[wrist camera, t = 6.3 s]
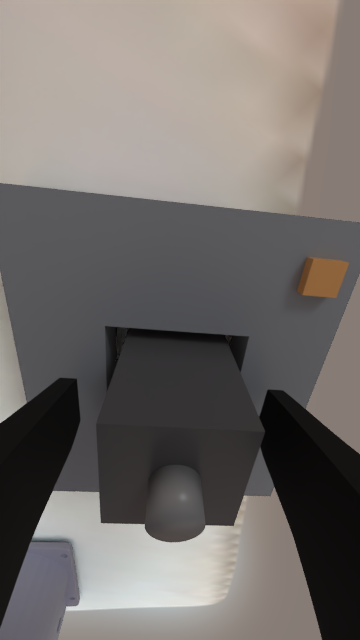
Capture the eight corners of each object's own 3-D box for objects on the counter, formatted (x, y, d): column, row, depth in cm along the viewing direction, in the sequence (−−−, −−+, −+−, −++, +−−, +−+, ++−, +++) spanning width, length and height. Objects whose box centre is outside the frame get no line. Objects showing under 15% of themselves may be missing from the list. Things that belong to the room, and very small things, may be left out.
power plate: (258, 461, 15) (273, 504, 13) (60, 455, 14) (40, 498, 12) (339, 221, 10) (388, 225, 7) (21, 186, 9) (-29, 179, 7)
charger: (207, 392, 13) (242, 568, 7) (131, 388, 13) (90, 567, 6) (220, 324, 11) (282, 472, 5) (133, 317, 11) (81, 465, 5)
